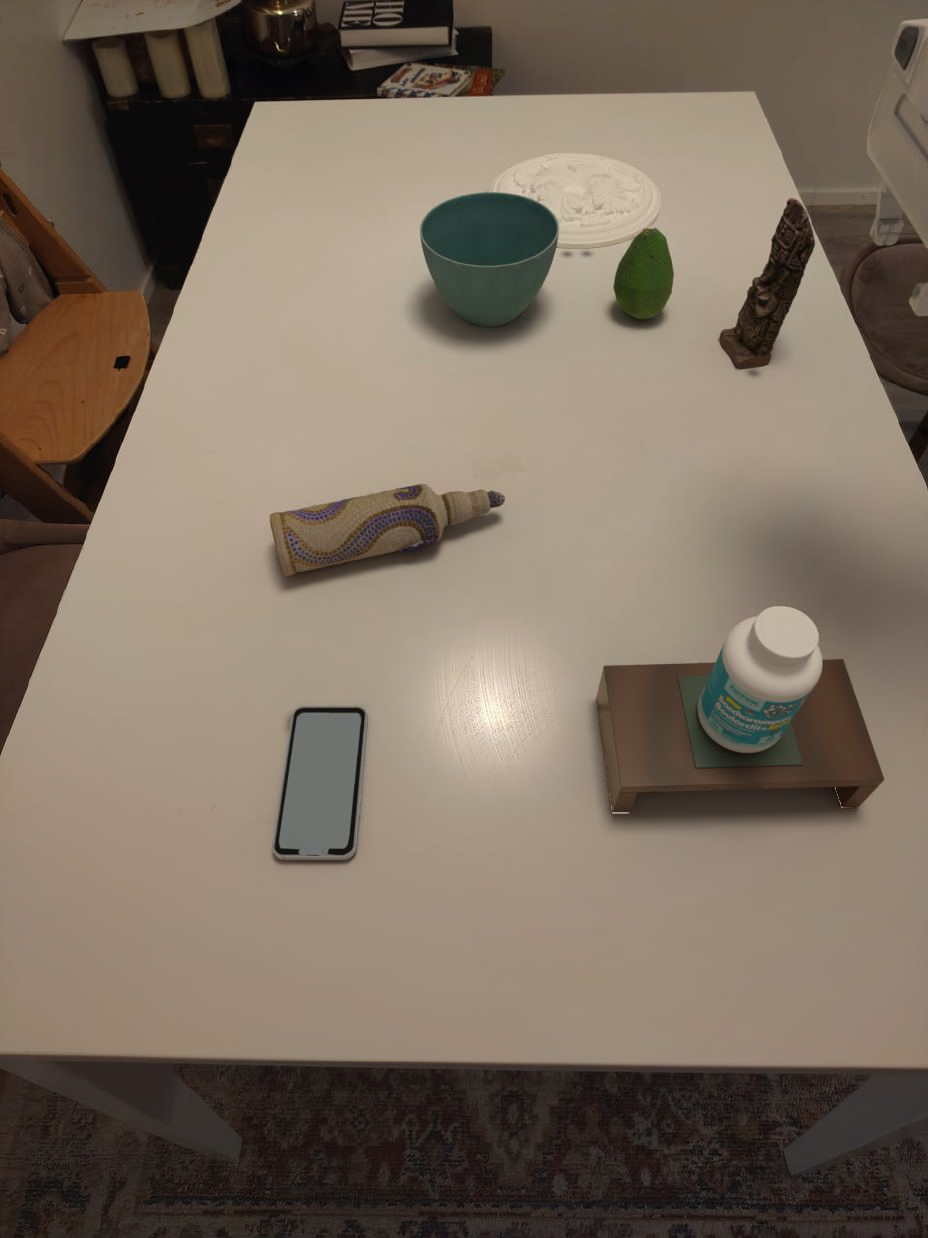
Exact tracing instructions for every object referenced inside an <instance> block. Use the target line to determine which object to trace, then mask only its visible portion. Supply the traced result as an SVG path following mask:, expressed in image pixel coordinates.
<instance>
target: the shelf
mask: <svg viewBox="0 0 928 1238" xmlns="http://www.w3.org/2000/svg"><path fill="white" fill-rule="evenodd" d="M714 665H715V662H687V663H686V662H685V663H653V664H652V663H651V664H618V665H617V664H616V665H615V664H614V665H603V667H602V672H601V675H600V680H599V685H598V689H597V694H596V698H595V699H596V704H597V705H596V707H597V714H599V715H598V722H599V721H600V723H599V729H600V728H601V730H600V736H601V735H602V738H601V744H602V743H603V745H602V750H603V749H604V753H603V757H604V756H605V761H604V763H605V762H606V768H605V771H606V770H607V776H606V779H607V778H608V783H607V786H608V785H609V791H608V794H609V793H610V798H609V800H610V799H611V806H612V812H630V813H631V811H632V808H633V806H634V803H635V800H636V797H637V795H638V793H661V792H694V791H695V792H696V791H700V792H701V791H728V790H729V791H731V790H766V789H771V790H772V789H801V788H802V789H804V788H807V789H808V788H834V787H836V791H837V794H838V797H839V800H840V802H841V806H842V807H859V808H860V807H861V806H862V805H863V803H864V802H866V801H867V799H868V798H869V797H870V796H871V795H872V794H873V793H874V792H875V791H876V790H877V789H878V788H879V787H880V785H882V783H883V782H884V781H885V777H884V775H883V771H882V768H881V765H880V762H879V760H878V757H877V754H876V751H875V748H874V745H873V742H872V739H871V735H870V733H869V730H868V728H867V725H866V722H865V718H864V715H863V713H862V710H861V707H860V704H859V701H858V698H857V696H856V695H857V694H856V692H855V689H854V687H853V686H854V685H853V684H852V680H851V678H850V675H849V671H848V669H847V666H846V663H845V661H844V659H843V658H830V659H822V672H821V675H820V678H819V680H818V682H817V683H816V685H815V686H814V688H813V690H812V691H811V693H810V694H809V695H808V697H807V698H806V700H805V701H804V703H803V704H802V706H801V707H800V709H799V710H798V712H797V713H796V715H795V716H794V718H793V719H792V721H791V722H790V724H789V725H788V727H787V728H786V730H785V731H784V733H783V734H782V736H781V737H780V739H779V740H778V741H777V742H776V743H775V744H774V745H772V746H771V747H769V748H768V749H765V750H763V751H760V752H755V753H741V752H735V751H732V750H729V749H727V748H725V747H723V746H721V745H719V744H718V743H716V742H715V741H714V740H713V739H712V738H711V737H710V736H709V735H708V734H707V733H706V731H705V730H704V728H703V727H702V725H701V722H700V720H699V716H698V701H699V698H700V695H701V693H702V691H703V688H704V686H705V684H706V682H707V680H708V678H709V675H710V673H711V671H712V669H713V667H714ZM834 791H835V790H834ZM836 791H835V793H836ZM611 806H610V807H611Z"/></svg>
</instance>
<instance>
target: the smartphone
mask: <svg viewBox="0 0 928 1238" xmlns="http://www.w3.org/2000/svg"><path fill="white" fill-rule="evenodd" d="M368 723H369V715H368V711H367V709H366V708H364V707H363V706H360V705H301V706H298V707H297V708H295V709H294V710H293V711H292V712H291V717H290V723H289V729H288V730H289V731H288V737H287V743H286V750H285V755H284V756H285V757H284V763H283V770H282V776H281V782H280V783H281V784H280V789H279V797H278V803H277V809H276V816H275V823H274V829H273V836H272V843H271V850H272V852H273V855H274V856H275V857H276V858H277V859H278V860H283V861H287V860H288V861H294V860H295V861H301V860H302V861H328V860H329V861H346V860H349V859H351V858H352V857H353V856H355V854H356V852H357V850H358V840H357V838H358V839H359V828H358V826H360V817H361V805H362V796H363V795H362V794H361V792H362V791H363V782H364V781H363V779H364V771H365V769H364V768H365V759H364V758H365V757H366V755H365V754H366V747H367V736H368V735H367V734H368ZM362 793H363V792H362ZM360 804H361V805H360ZM356 849H357V850H356ZM354 853H355V854H354Z"/></svg>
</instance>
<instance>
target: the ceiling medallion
mask: <svg viewBox="0 0 928 1238" xmlns="http://www.w3.org/2000/svg"><path fill="white" fill-rule="evenodd" d="M487 192H501V193H510V194H516V195H520V196H524V197H527V198H530V199H533V200H535V201H537V202H539V203H541V204H543V205H544V206H546V207H547V208H548V209H549V210H550V211H551V212H552V213H553V214H554V215H555V217H556V218H557V221H558V224H559V235H558V242H557V247H556V248H561V249H579V250H580V249H594V248H603V247H607V246H608V247H609V246H612V245H617V244H620V243H623V242H626V241H629V240H631V239H633V238H635V237H636V236H637V235H638V234H640V233H641V232H642V231H643V230H644V229H650V227H651V226H652V225H653V224H654V223H655V222H656V221H657V219H658V217H659V214H660V211H661V206H662V196H661V192H660V190H659V188H658V187H657V185H656V183H655V182H654V180H652V179H651V178H650V177H649V176H647V174H645V173H644V172H642V171H641V170H639V169H638V168H636V167H635V166H632V165H630V164H628V163H626V162H624V161H621V160H618V159H615V158H611V157H607V156H603V155H599V154H593V153H583V152H582V153H581V152H561V153H560V152H554V153H551V154H550V153H548V154H545V155H540V156H537V157H533V158H529V159H526V160H524V161H521V162H518V163H516V164H513V166H511V167H509V168H507V169H506V170H504V171H503V172H501V173H500V174H499V175H497V177H496V178H495V179H494V180H493V181H492V183H491V184H490V186H489V189H488V191H487Z"/></svg>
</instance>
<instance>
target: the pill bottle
mask: <svg viewBox="0 0 928 1238" xmlns="http://www.w3.org/2000/svg"><path fill="white" fill-rule="evenodd" d="M819 640H820V635H819V631H818V628H817V626H816V625H815V623H814V622H813V620H812V619H811V618H810V617H809V616H808V615H806V614H805V613H804V612H802V611H801V610H798V609H796V608H793V607H790V606H786V605H785V606H784V605H774V606H771V607H768V608H766V609H764V610H762V611H761V612H759V614H758V615H755V616H751V617H749V618H746V619H744V620H742V621H741V622H739V623H738V624H736V625H735V626H734V627H733V628H732V629H731V630H730V632H729V633H728V635H727V636H726V638H725V640H724V642H723V644H722V647H721V649H720V651H719V653H718V656H717V658H716V660H715V662H714V663H715V665H714V667H713V669H712V671H711V673H710V675H709V678H708V680H707V682H706V684H705V686H704V688H703V691H702V693H701V695H700V698H699V701H698V716H699V720H700V722H701V725H702V727H703V728H704V730H705V731H706V733H707V734H708V735H709V736H710V737H711V738H712V739H713V740H714V741H715V742H716V743H718V744H719V745H721V746H723V747H725V748H727V749H729V750H732V751H735V752H741V753H755V752H760V751H763V750H765V749H768V748H769V747H771V746H772V745H774V744H775V743H776V742H777V741H778V740H779V739H780V737H781V736H782V734H783V733H784V731H785V730H786V728H787V727H788V725H789V724H790V722H791V721H792V719H793V718H794V716H795V715H796V713H797V712H798V710H799V709H800V707H801V706H802V704H803V703H804V701H805V700H806V698H807V697H808V695H809V694H810V693H811V691H812V690H813V688H814V686H815V685H816V683H817V682H818V680H819V678H820V675H821V672H822V660H823V656H822V652H821V649H820V647H819Z"/></svg>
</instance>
